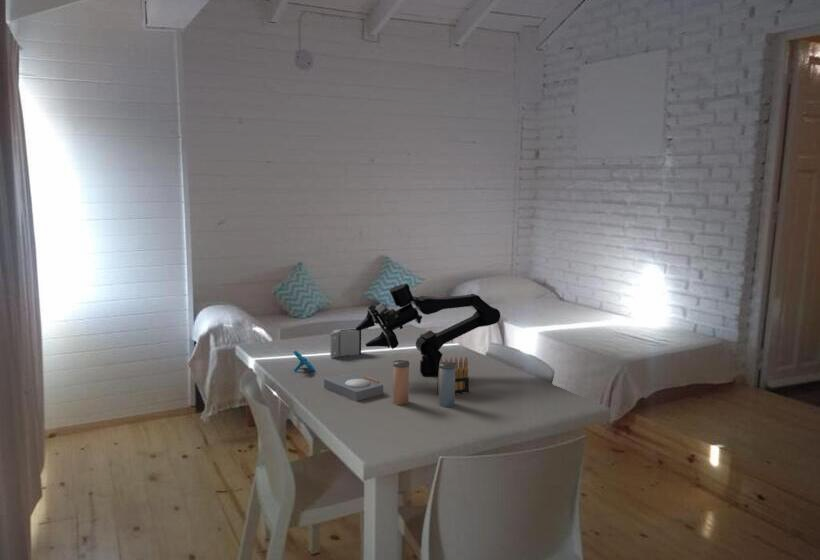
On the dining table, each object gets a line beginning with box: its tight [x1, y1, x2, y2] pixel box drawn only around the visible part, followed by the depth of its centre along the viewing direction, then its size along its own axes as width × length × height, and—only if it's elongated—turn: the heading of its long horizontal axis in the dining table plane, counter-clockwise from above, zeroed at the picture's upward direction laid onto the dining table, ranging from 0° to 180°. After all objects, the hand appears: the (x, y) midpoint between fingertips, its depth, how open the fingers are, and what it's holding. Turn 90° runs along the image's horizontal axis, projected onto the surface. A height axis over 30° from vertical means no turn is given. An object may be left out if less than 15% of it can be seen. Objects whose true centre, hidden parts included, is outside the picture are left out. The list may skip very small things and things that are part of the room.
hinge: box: [329, 327, 362, 359], centre depth 263 cm, size 14×5×10 cm, turn 123°
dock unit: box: [323, 372, 384, 402], centre depth 219 cm, size 12×18×4 cm, turn 42°
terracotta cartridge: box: [392, 359, 410, 406], centre depth 208 cm, size 5×5×13 cm
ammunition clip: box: [436, 356, 470, 396], centre depth 218 cm, size 11×2×12 cm, turn 110°
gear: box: [293, 350, 316, 373], centre depth 241 cm, size 11×6×10 cm
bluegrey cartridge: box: [438, 361, 456, 408], centre depth 206 cm, size 5×5×13 cm
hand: (360, 337), depth 230 cm, fingers open, 9 cm apart
